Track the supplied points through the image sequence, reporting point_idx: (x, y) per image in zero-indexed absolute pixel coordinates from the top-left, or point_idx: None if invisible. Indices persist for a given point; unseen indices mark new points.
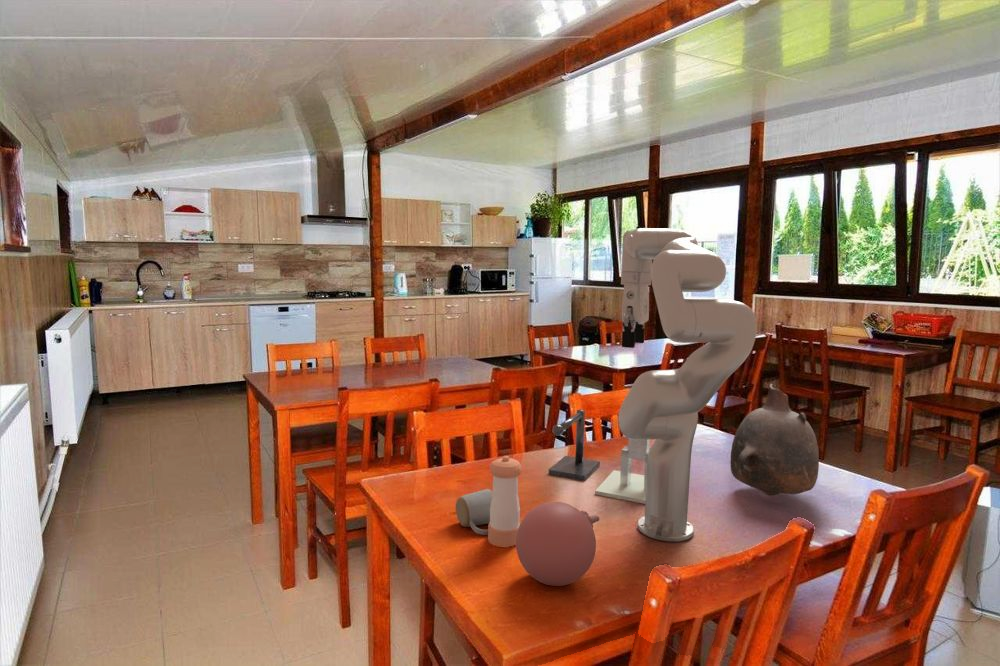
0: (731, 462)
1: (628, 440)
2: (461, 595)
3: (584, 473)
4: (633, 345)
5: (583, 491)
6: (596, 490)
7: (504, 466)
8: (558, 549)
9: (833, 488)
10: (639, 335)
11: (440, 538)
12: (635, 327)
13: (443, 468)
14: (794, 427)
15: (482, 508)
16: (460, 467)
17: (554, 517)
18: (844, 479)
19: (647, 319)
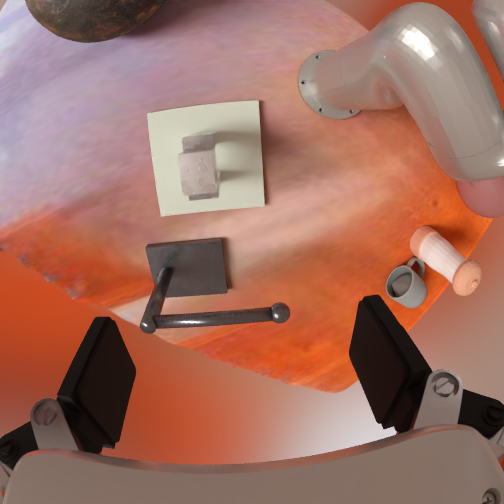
0: (124, 27)
1: (216, 189)
2: (487, 224)
3: (211, 245)
4: (381, 304)
5: (261, 222)
6: (262, 204)
7: (481, 275)
8: None
9: None
10: (108, 374)
11: (430, 286)
12: (103, 440)
13: (279, 376)
14: None
15: (420, 280)
16: (267, 368)
17: None
18: None
19: (83, 476)
